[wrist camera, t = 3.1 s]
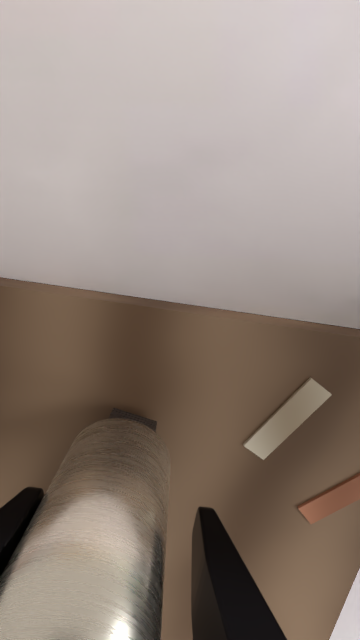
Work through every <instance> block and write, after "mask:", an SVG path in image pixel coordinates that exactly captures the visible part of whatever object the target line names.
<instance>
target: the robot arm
mask: <svg viewBox="0 0 360 640" xmlns="http://www.w3.org/2000/svg"><path fill="white" fill-rule="evenodd" d="M43 497H44V491H43V489H42V488H38V487H26V488H24V489H23V490H22V491H21V492H19V493H18V494H17V495H16V496H14V497H13V498H12V499H11V500H10V501H8V502H7V503H6V504H5V505H3V506H2V507H1V508H0V577H1V575H2V573H3V571H4V569H5V567H6V565H7V564H8V562H9V560H10V558H11V556H12V554H13V552H14V551H15V549H16V547H17V545H18V543H19V541H20V539H21V538H22V536H23V534H24V532H25V530H26V528H27V527H28V525H29V523H30V521H31V519H32V517H33V515H34V514H35V512H36V510H37V508H38V506H39V504H40V502H41V501H42V499H43ZM191 617H192V633H193V640H287V638H286V636H285V634H284V633H283V631H282V629H281V627H280V626H279V624H278V622H277V620H276V618H275V617H274V615H273V613H272V611H271V609H270V608H269V606H268V604H267V602H266V601H265V599H264V597H263V595H262V593H261V592H260V590H259V588H258V586H257V584H256V583H255V581H254V579H253V577H252V576H251V574H250V572H249V570H248V568H247V567H246V565H245V563H244V561H243V559H242V558H241V556H240V554H239V552H238V551H237V549H236V547H235V545H234V543H233V542H232V540H231V538H230V536H229V534H228V533H227V531H226V529H225V527H224V525H223V524H222V522H221V520H220V518H219V517H218V515H217V513H216V511H215V510H214V509H213V508H211V507H202V506H200V507H198V509H197V512H196V517H195V521H194V526H193V531H192V568H191Z"/></svg>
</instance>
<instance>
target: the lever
mask: <svg viewBox="0 0 360 640" xmlns="http://www.w3.org/2000/svg"><path fill="white" fill-rule="evenodd" d="M156 426H157V421H155V420H151V419H148V418H145V417H142V416H139V415H135V414H132V413H129V412H126V411H123V410H120V409H116V408H113V409H112V412H111V414H110V416H109V419H106V420H101V421H98V422H95V423H93V424H91V425H89V426H88V427H86V428H85V429H83V430H82V431H81V432H80V433H79V434H78V436H77V437H76V438H75V440H74V442H73V443H72V445H71V447H70V449H69V451H68V453H67V454H66V456H65V458H64V460H63V462H62V464H61V465H60V467H59V469H58V471H57V473H56V475H55V477H54V478H53V480H52V482H51V484H50V486H49V488H48V490H47V491H46V493H45V495H44V497H43V499H42V501H41V502H40V504H39V506H38V508H37V510H36V512H35V514H34V515H33V517H32V519H31V521H30V523H29V525H28V527H27V528H26V530H25V532H24V534H23V536H22V538H21V539H20V541H19V543H18V545H17V547H16V549H15V551H14V552H13V554H12V556H11V558H10V560H9V562H8V564H7V565H6V567H5V569H4V571H3V573H2V575H1V577H0V640H161V629H162V611H163V592H164V574H165V556H166V538H167V520H168V502H169V483H170V455H169V452H168V449H167V447H166V445H165V443H164V442H163V440H162V439H161V438H160V437H159V435H158V434H156Z"/></svg>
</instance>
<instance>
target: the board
mask: <svg viewBox="0 0 360 640" xmlns="http://www.w3.org/2000/svg"><path fill="white" fill-rule="evenodd" d="M113 408H116V409H120V410H123V411H126V412H129V413H132V414H135V415H139V416H142V417H145V418H148V419H151V420H155V421H157V426H156V434H158V435H159V437H160V438H161V439H162V440H163V442H164V443H165V445H166V447H167V449H168V452H169V455H170V483H169V502H168V520H167V538H166V556H165V574H164V592H163V611H162V629H161V640H193V633H192V617H191V568H192V531H193V526H194V521H195V517H196V512H197V509H198V507H200V506H202V507H211V508H213V509H214V510H215V511H216V513H217V515H218V517H219V518H220V520H221V522H222V524H223V525H224V527H225V529H226V531H227V533H228V534H229V536H230V538H231V540H232V542H233V543H234V545H235V547H236V549H237V551H238V552H239V554H240V556H241V558H242V559H243V561H244V563H245V565H246V567H247V568H248V570H249V572H250V574H251V576H252V577H253V579H254V581H255V583H256V584H257V586H258V588H259V590H260V592H261V593H262V595H263V597H264V599H265V601H266V602H267V604H268V606H269V608H270V609H271V611H272V613H273V615H274V617H275V618H276V620H277V622H278V624H279V626H280V627H281V629H282V631H283V633H284V634H285V636H286V638H287V640H329V638H330V636H331V634H332V631H333V629H334V627H335V624H336V622H337V620H338V617H339V615H340V613H341V610H342V608H343V606H344V603H345V601H346V598H347V596H348V594H349V591H350V589H351V587H352V584H353V582H354V580H355V577H356V575H357V573H358V570H359V568H360V329H353V328H346V327H339V326H332V325H325V324H319V323H312V322H305V321H298V320H291V319H284V318H277V317H270V316H263V315H256V314H249V313H242V312H235V311H228V310H221V309H215V308H208V307H201V306H194V305H187V304H180V303H173V302H166V301H159V300H152V299H145V298H138V297H131V296H124V295H117V294H111V293H104V292H97V291H90V290H83V289H76V288H69V287H62V286H55V285H48V284H41V283H34V282H27V281H20V280H13V279H7V278H0V508H1V507H2V506H3V505H5V504H6V503H7V502H8V501H10V500H11V499H12V498H13V497H14V496H16V495H17V494H18V493H19V492H21V491H22V490H23V489H24V488H26V487H38V488H42V489H43V491H44V495H45V493H46V491H47V490H48V488H49V486H50V484H51V482H52V480H53V478H54V477H55V475H56V473H57V471H58V469H59V467H60V465H61V464H62V462H63V460H64V458H65V456H66V454H67V453H68V451H69V449H70V447H71V445H72V443H73V442H74V440H75V438H76V437H77V436H78V434H79V433H80V432H81V431H82V430H83V429H85V428H86V427H88V426H89V425H91V424H93V423H95V422H98V421H101V420H106V419H109V416H110V414H111V412H112V409H113Z"/></svg>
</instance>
